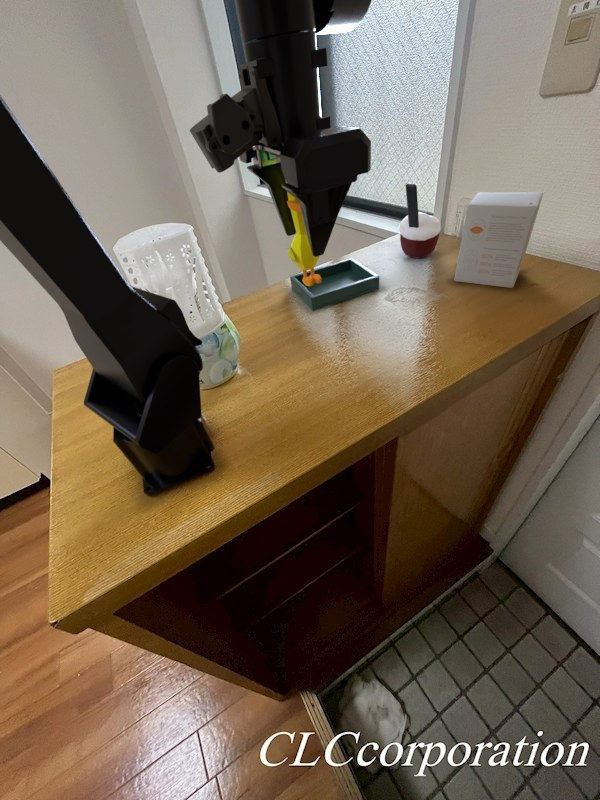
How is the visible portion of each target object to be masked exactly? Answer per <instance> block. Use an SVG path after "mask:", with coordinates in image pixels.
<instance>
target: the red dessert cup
mask: <svg viewBox="0 0 600 800" xmlns="http://www.w3.org/2000/svg"><path fill="white" fill-rule="evenodd" d="M405 197H406V207H407V208H406V209H407V215H406V216H405V217H403V219H402V220H401V221H400V222H399V226H398V232H399V233H400V234H399V241H400V246H401V250H402V251H403V254H404V255H406V256H407V257H409V258H410V259H412V258H413V259H423V258H426V257H427V256H430V254H432V253H433V252H434V251H435V248H436V246H437V244H438V241H439V239H440V233H441V230H442V224H441V222H440V221H439V219H438V218H437V217H436V216H434V215H431V214H428V213H426V212H421V211H419V204H418V201H419V199H418V186H417V185H416V184H415V183H406V184H405Z"/></svg>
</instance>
